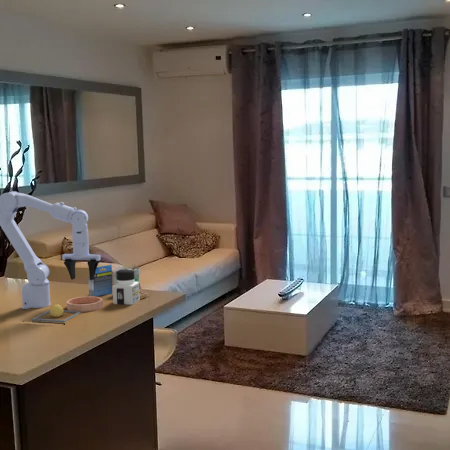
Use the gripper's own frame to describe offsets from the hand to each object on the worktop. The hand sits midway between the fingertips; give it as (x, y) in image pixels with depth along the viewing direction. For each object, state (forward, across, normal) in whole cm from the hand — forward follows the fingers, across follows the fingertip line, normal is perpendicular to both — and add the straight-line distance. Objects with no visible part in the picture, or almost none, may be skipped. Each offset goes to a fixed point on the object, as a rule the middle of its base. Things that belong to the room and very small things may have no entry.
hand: (82, 279), depth 226 cm
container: (+10, +15, +5) cm, 19 cm away
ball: (+9, -1, -18) cm, 20 cm away
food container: (+10, +11, +20) cm, 25 cm away
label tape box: (+10, 0, +15) cm, 18 cm away
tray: (+10, -1, -18) cm, 21 cm away
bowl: (+10, +3, -5) cm, 11 cm away
